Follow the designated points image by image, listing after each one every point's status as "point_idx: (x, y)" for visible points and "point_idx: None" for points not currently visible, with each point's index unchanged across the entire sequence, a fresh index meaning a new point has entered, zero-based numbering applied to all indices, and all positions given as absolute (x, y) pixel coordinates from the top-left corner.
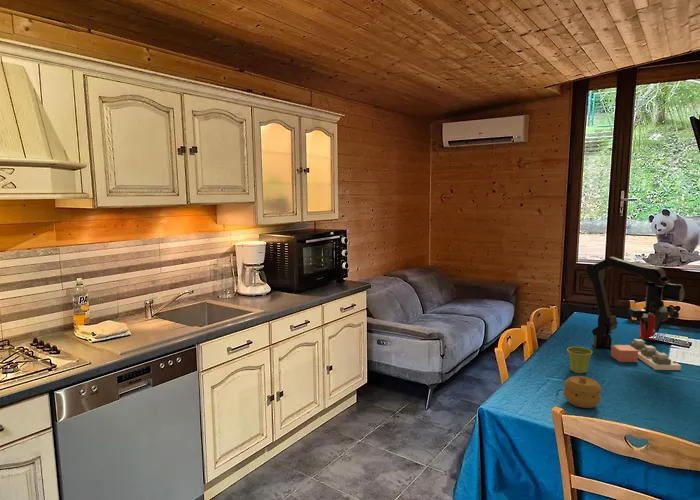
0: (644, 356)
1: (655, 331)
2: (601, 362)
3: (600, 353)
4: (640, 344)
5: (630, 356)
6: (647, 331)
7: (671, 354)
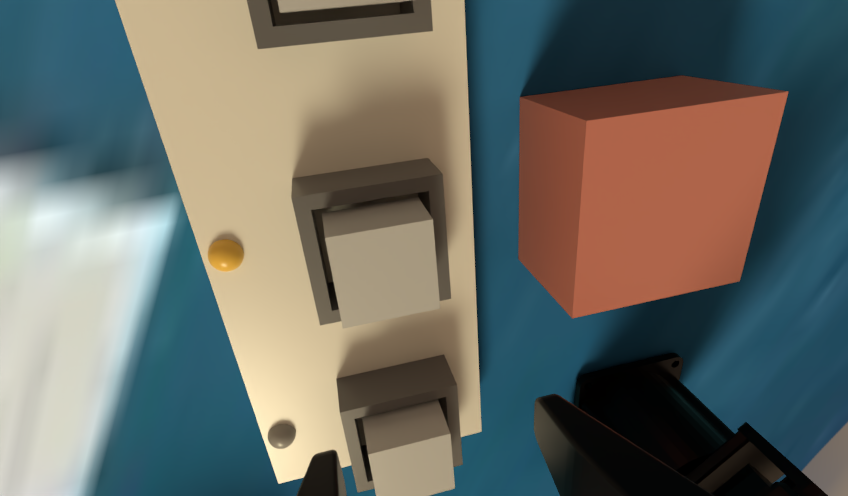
0: (449, 158)
1: (343, 493)
2: (842, 25)
3: None
4: (405, 413)
5: (621, 97)
6: (549, 413)
7: (84, 404)
